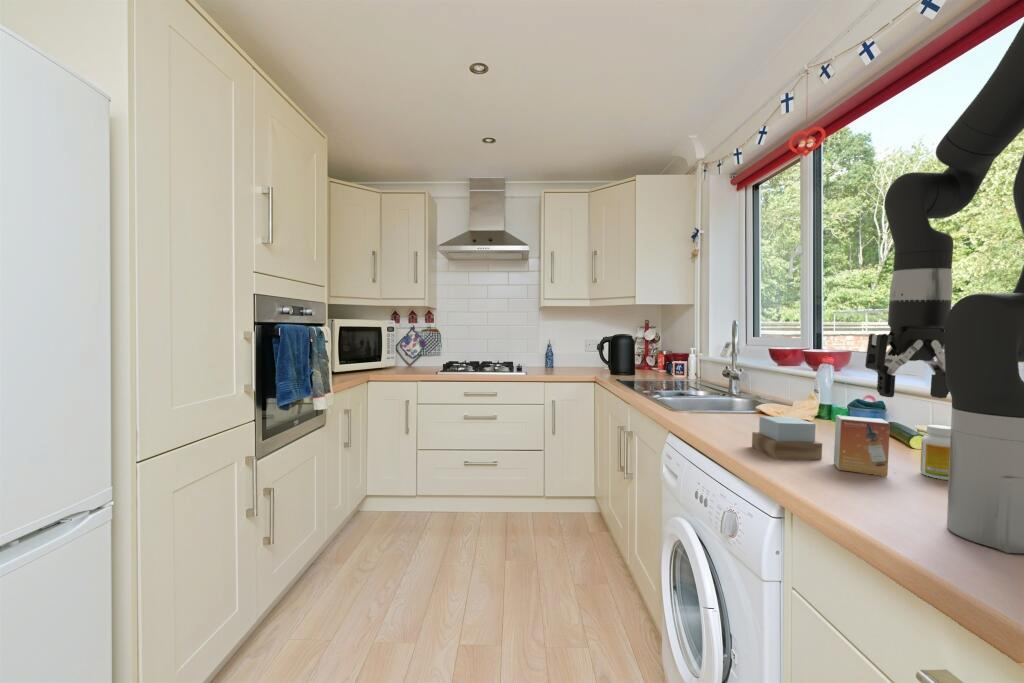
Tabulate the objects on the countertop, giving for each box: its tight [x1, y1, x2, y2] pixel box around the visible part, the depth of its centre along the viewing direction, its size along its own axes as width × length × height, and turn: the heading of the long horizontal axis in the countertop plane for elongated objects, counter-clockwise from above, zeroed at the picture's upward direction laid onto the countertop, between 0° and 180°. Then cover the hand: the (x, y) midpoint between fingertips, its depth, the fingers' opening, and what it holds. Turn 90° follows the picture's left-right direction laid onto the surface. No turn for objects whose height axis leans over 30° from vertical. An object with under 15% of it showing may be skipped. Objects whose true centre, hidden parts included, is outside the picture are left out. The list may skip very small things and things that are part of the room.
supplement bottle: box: [920, 424, 951, 481], centre depth 88 cm, size 5×5×10 cm
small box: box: [833, 414, 891, 477], centre depth 91 cm, size 8×6×10 cm
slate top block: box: [758, 415, 817, 442], centre depth 103 cm, size 8×8×4 cm
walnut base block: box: [751, 431, 823, 460], centre depth 103 cm, size 10×10×4 cm
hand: (912, 397), depth 74 cm, fingers open, 8 cm apart
